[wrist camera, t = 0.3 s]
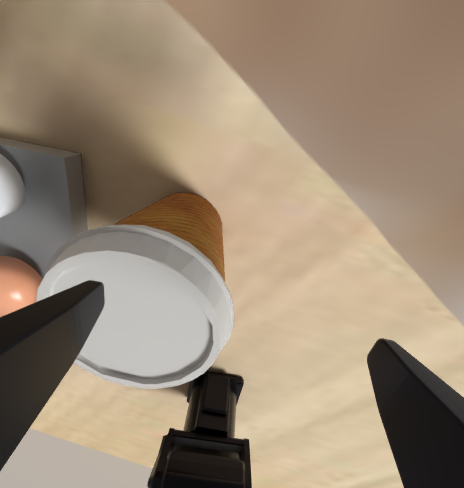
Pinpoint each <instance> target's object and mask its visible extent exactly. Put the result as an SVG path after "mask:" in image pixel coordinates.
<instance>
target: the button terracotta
mask: <svg viewBox="0 0 464 488" xmlns="http://www.w3.org/2000/svg"><path fill="white" fill-rule="evenodd" d="M41 282H42V278H41V276H40V275H39V274H38V273H37V271H36V270H35V269H34V268H32V267H31V266H30V265H28V264H27V263H25V262H23V261H22V260H19V259H17V258H14V257H9V256H0V317H2V316H4V315H7V314H9V313H11V312H14V311H16V310H18V309H21V308H23V307H26V306H28V305H30V304H33V303H35V302H36V300H37V290H38V287H39V285H40V284H41Z"/></svg>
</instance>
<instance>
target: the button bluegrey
mask: <svg viewBox="0 0 464 488" xmlns="http://www.w3.org/2000/svg"><path fill="white" fill-rule="evenodd" d="M25 193H26V192H25V186H24V183H23V180H22V178H21V176H20V174H19V173H18V171H17V170H16V168H15V167H14V166H13V165H12V164H11V162H10V161H9V160H7V159H6V158H5V157H4V156H3V155H1V154H0V218H1V217H4V216H6V215H8V214H11V213H13V212H15V211H17V210H19V209H20V208H21V207H22V205H23V204H24V201H25Z"/></svg>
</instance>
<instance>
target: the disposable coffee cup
mask: <svg viewBox="0 0 464 488" xmlns="http://www.w3.org/2000/svg"><path fill="white" fill-rule="evenodd" d="M223 251H224V250H223V236H222V222H221V219H220V216H219V214H218V212H217V210H216V209H215V208H214V207H213V206H212V205H211V204H210V203H209V202H208V201H207V200H205V199H204V198H202V197H200V196H198V195H194V194H191V193H175V194H171V195H169V196H167V197H165V198H164V199H162V200H160V201H158V202H156V203H154V204H152V205H150V206H148V207H146V208H145V209H143V210H141V211H139V212H137V213H135V214H133V215H131V216H129V217H128V218H126V219H124V220H122V221H120V222H118V223H116V224H114V225H106V226H102V227H99V228H95V229H91V230H88V231H84V232H81V233H79V234H78V235H76V236H74V237H72V238H71V239H70V240H68V241H67V242H65V243H64V244H63V245H61V246H60V248H59V249H58V250H57V251H56V253H55V254H54V255H53V256H52V258H51V260H50V263H49V266H48V268H47V271H46V274H45V276H44V278H43V280H42V282H41V284H40V285H39V287H38V290H37V300H36V302H37V301H40V300H42V299H45V298H47V297H49V296H52V295H54V294H57V293H59V292H61V291H64V290H66V289H68V288H71V287H73V286H76V285H78V284H80V283H83V282H85V281H88V280H94V281H99V282H102V283H103V284H104V296H105V304H104V308H103V310H102V312H101V314H100V316H99V318H98V320H97V322H96V323H95V325H94V327H93V329H92V331H91V333H90V335H89V337H88V338H87V340H86V342H85V344H84V346H83V348H82V350H81V351H80V353H79V355H78V356H77V358H76V360H75V361H74V363H75V364H76V365H77V366H79V367H80V368H82V369H84V370H86V371H88V372H90V373H92V374H94V375H96V376H98V377H100V378H102V379H104V380H107V381H110V382H114V383H117V384H120V385H125V386H130V387H136V388H147V389H154V388H166V387H173V386H178V385H181V384H184V383H186V382H189V381H191V380H194V379H195V378H197V377H198V376H200V375H202V374H203V373H204V372H205V371H206V370H207V369H208V368H209V367H210V366H211V365H212V364H213V363H214V361H215V359H216V357H217V355H218V354H219V352H220V351H221V349H222V348H223V347H224V346H225V344H226V343H227V341H228V339H229V337H230V334H231V332H232V327H233V321H234V311H233V303H232V299H231V295H230V291H229V289H228V288H227V286H226V284H225V272H224V254H223Z"/></svg>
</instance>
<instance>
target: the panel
mask: <svg viewBox="0 0 464 488" xmlns="http://www.w3.org/2000/svg"><path fill="white" fill-rule="evenodd" d="M0 154H1V155H3V156H4V157H5V158H6V159H7V160H9V161H10V162H11V164H12V165H13V166H14V167H15V168H16V170H17V171H18V173H19V174H20V176H21V178H22V180H23V183H24V186H25V192H26V193H25V201H24V204H23V205H22V207H21V208H20V209H19V210H17V211H15V212H13V213H11V214H8V215H6V216H4V217H1V218H0V256H9V257H14V258H17V259H19V260H22V261H23V262H25V263H27V264H28V265H30V266H31V267H32V268H34V269H35V270H36V271H37V273H38V274H39V275H40V276H41V278H42V280H43V278H44V276H45V274H46V271H47V268H48V266H49V263H50V260H51V258H52V256H53V255H54V254H55V253H56V251H57V250H58V249H59V248H60V246H61V245H63V244H64V243H65V242H67V241H68V240H70V239H71V238H72V237H74V236H76V235H78V234H79V233H81V232H84V231H88V230H87V219H86V208H85V196H84V185H83V174H82V163H81V154H80V153H75V152H70V151H65V150H60V149H56V148H51V147H46V146H41V145H36V144H32V143H27V142H22V141H17V140H12V139H7V138H3V137H0Z"/></svg>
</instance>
